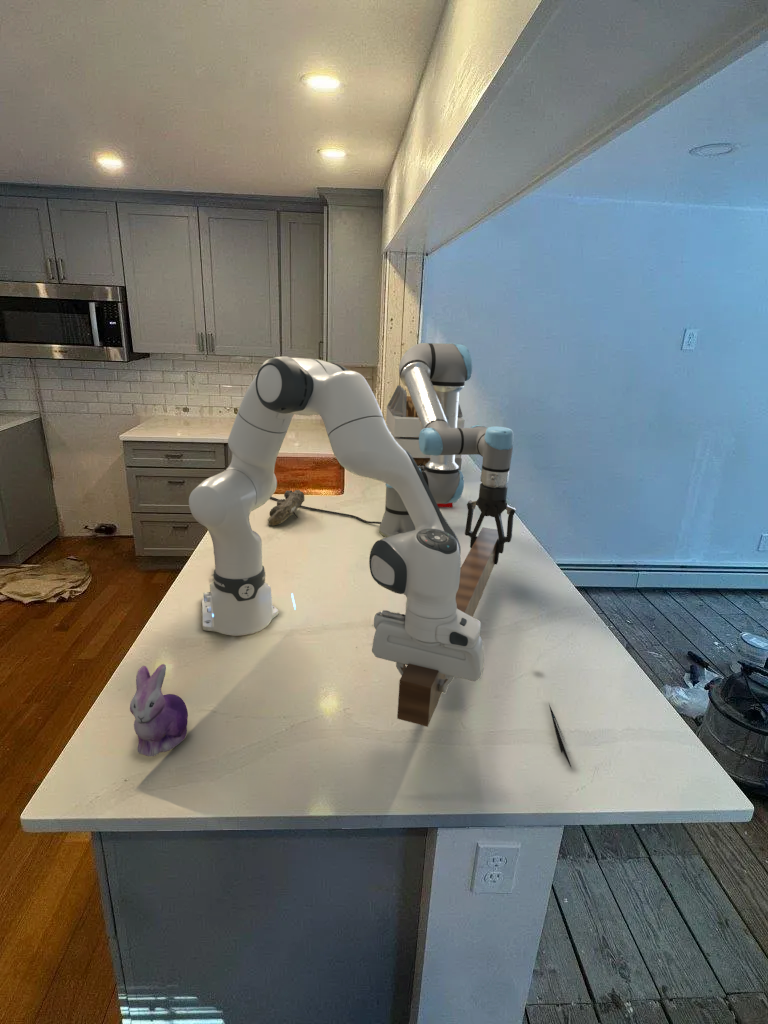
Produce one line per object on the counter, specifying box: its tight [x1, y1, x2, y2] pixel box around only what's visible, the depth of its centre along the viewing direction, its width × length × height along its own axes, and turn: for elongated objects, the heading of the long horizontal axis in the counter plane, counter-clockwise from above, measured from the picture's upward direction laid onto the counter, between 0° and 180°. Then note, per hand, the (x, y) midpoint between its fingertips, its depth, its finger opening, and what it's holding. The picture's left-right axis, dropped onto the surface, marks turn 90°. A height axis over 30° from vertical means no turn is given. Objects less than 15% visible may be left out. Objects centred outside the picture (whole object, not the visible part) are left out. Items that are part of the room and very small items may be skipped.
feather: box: [548, 702, 572, 767], centre depth 112 cm, size 2×28×2 cm
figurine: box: [129, 663, 189, 757], centre depth 99 cm, size 9×10×15 cm
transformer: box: [385, 384, 465, 472], centre depth 268 cm, size 34×33×41 cm
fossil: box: [267, 489, 305, 527], centre depth 209 cm, size 22×10×15 cm
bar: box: [396, 526, 499, 728], centre depth 133 cm, size 80×6×8 cm, turn 161°
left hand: (424, 686), depth 104 cm, fingers closed on bar, 5 cm apart
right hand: (485, 560), depth 164 cm, fingers closed on bar, 6 cm apart
